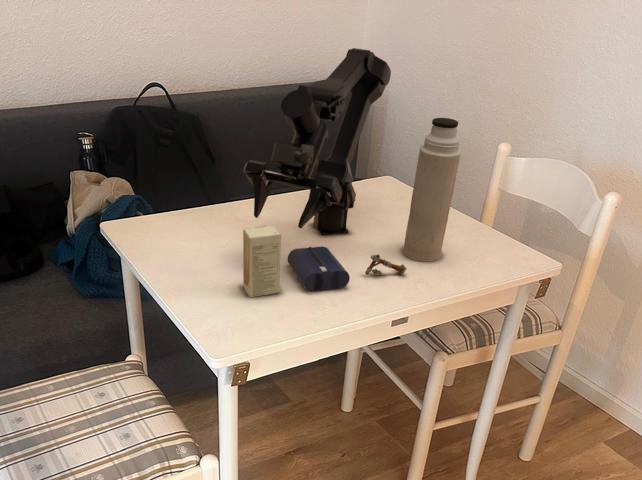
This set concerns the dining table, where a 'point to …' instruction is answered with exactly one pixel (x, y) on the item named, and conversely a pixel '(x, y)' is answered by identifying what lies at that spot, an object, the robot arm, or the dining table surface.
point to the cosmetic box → (261, 260)
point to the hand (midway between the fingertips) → (277, 222)
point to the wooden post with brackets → (386, 263)
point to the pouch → (318, 269)
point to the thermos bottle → (433, 191)
